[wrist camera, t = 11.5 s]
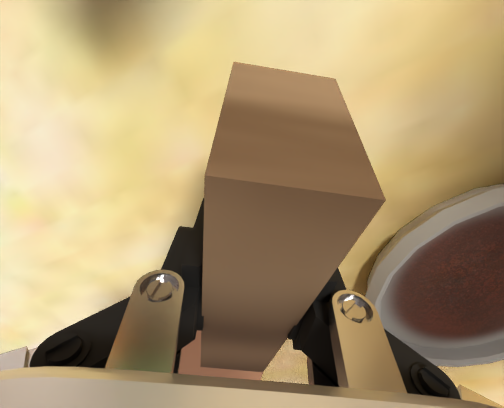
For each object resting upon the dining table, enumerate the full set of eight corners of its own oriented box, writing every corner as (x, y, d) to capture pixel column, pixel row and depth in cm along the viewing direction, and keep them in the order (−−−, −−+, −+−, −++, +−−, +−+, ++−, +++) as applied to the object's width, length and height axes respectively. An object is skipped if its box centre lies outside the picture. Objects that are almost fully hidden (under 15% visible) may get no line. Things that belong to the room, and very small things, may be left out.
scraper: (162, 49, 8) (74, 156, 4) (400, 89, 8) (497, 215, 5) (184, 306, 20) (167, 386, 17) (277, 316, 21) (279, 395, 17)
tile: (177, 296, 20) (172, 373, 24) (285, 309, 20) (259, 381, 25) (183, 276, 21) (177, 352, 26) (282, 288, 22) (259, 360, 27)
